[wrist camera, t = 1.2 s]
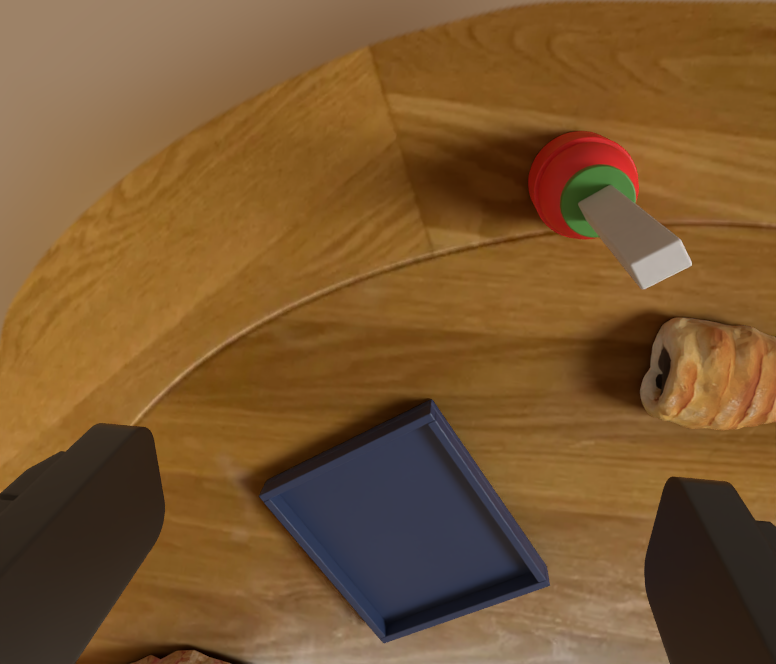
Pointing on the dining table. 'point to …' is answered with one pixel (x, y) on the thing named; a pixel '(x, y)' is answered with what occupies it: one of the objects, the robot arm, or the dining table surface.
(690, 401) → the pastry
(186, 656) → the cake
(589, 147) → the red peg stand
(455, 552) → the tray
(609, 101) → the dining table surface
